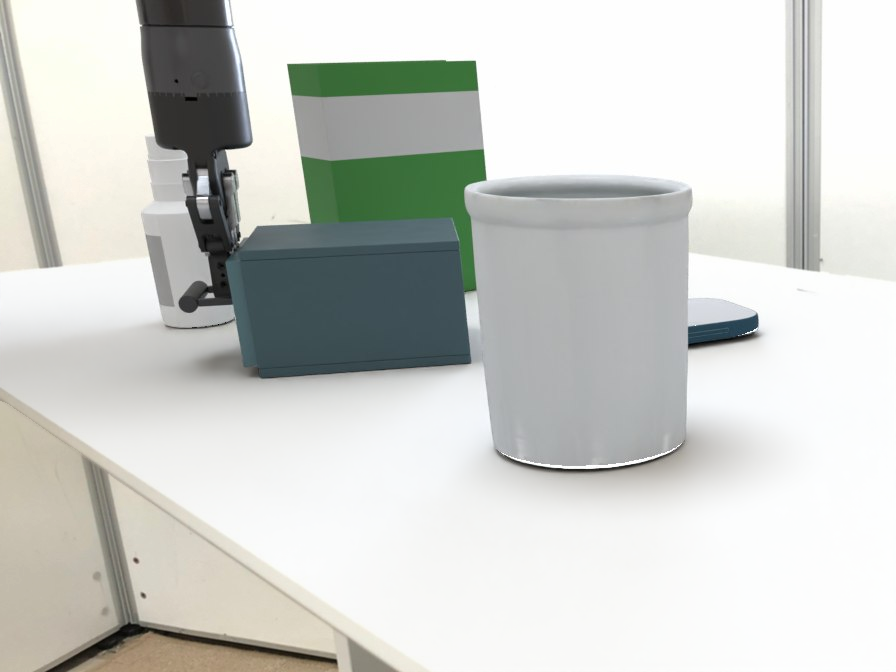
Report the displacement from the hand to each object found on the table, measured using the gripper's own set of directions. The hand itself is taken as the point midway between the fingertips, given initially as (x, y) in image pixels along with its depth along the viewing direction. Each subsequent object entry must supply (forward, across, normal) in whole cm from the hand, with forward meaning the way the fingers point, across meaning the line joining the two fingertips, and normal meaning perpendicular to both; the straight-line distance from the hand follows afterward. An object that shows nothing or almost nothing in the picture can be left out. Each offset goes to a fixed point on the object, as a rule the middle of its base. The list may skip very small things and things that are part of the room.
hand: (229, 298), depth 105 cm
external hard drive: (+5, +3, +35) cm, 36 cm away
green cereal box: (+5, -27, +15) cm, 32 cm away
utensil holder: (+5, +32, +27) cm, 42 cm away
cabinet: (+5, 0, +11) cm, 12 cm away
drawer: (+4, 0, +7) cm, 8 cm away
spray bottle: (+6, -18, -6) cm, 20 cm away
